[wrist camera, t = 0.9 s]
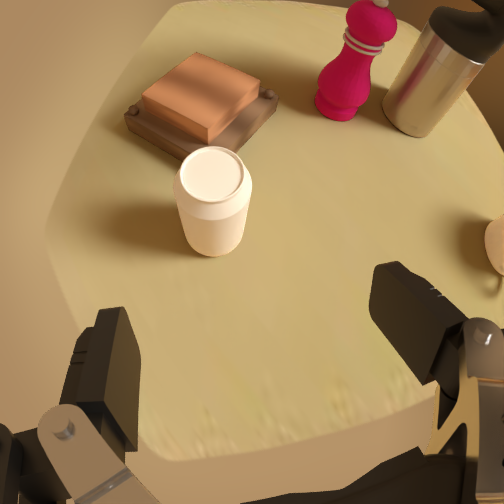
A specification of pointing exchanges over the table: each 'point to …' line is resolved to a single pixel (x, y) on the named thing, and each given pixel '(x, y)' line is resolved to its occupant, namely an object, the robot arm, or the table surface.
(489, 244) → the mug
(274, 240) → the table surface
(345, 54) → the pepper mill
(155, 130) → the brick plinth
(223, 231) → the beverage can
